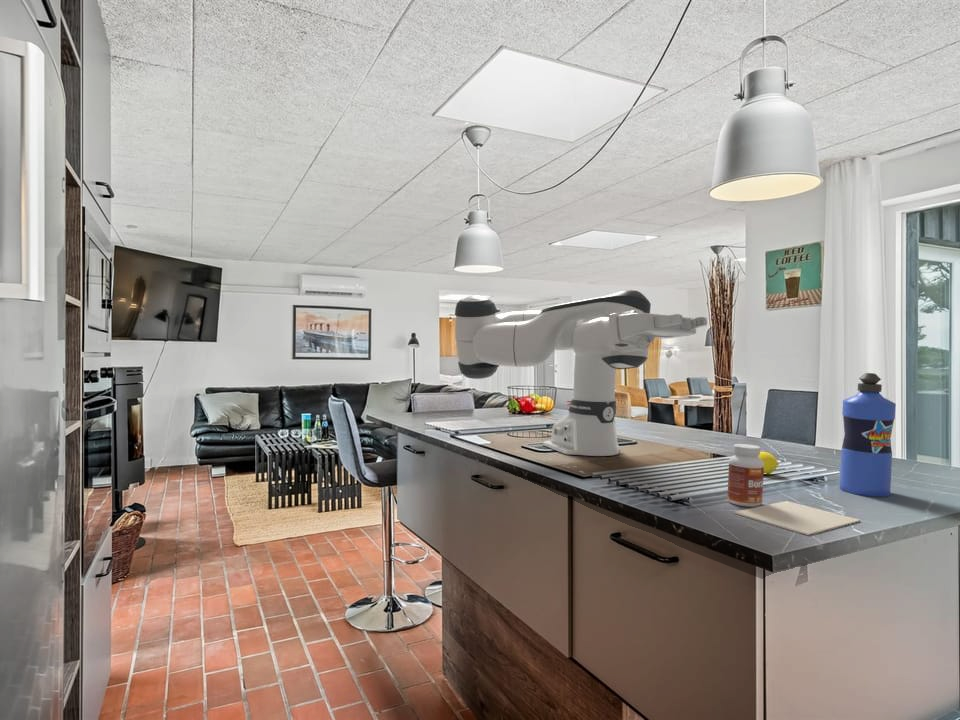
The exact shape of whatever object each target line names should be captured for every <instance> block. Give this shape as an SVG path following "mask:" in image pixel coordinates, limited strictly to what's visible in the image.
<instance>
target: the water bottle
mask: <svg viewBox="0 0 960 720" xmlns="http://www.w3.org/2000/svg"><path fill="white" fill-rule="evenodd" d="M858 380H860V381H861V382H859V383H857V391H858V392H857V393H856V394H855V395H852V396H850V397H848V398H845V399H843V400H842V410H841V411H842V412H841V414H842V416H843V417H842V419H843V428H844V429H843V431H844V435H843V440H842V445H841V453H840V468H839V469H840V472H839V473H840V474H839V489H840V490H841V491H843V492H845V493H849V494H853V495H857V496H861V497H862V496H864V497H871V498H887V497H890V496H891V487H892V486H891V485H892V469H893V468H892V466H893V465H892V464H893V452H892V442H891V437H892V433H893V426H894V422H895V420H896V406H897V405H896V403H895V402H894V401H892V400H890V399H888V398H886V397H884V396H883V395H881V393H882V387H883V385H882V383H881V384H879V382H880V381H881V380H882V378H881V377H879V375H878V374H876V373H873V372H871V373H870V372H865V373H863V375H861V376H860V377H859V378H858Z"/></svg>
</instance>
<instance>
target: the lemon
mask: <svg viewBox="0 0 960 720" xmlns="http://www.w3.org/2000/svg"><path fill="white" fill-rule="evenodd" d="M759 458H760V459H761V460H762V461H763V463H764V473H770V474H772V473H773V472H775V471H776V469H777V467H778V466H779V461H778V460H777V459H776V457H775V456H774V455H773V454H771V453H769V452H766V451H760V455H759Z"/></svg>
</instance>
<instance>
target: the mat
mask: <svg viewBox="0 0 960 720" xmlns="http://www.w3.org/2000/svg"><path fill="white" fill-rule="evenodd" d="M733 514H735V515H739V516H741V517H745V518H747V519H752V520H754V521H758V522H762V523H764V524H768V525H770V526H775V527H779V528H782V529H786V530H789V531H791V532H795V533H798V534H801V533H802V534H801V535H804V534H805V535H804V536H812V535H814V534H815V535H816V534H819V533H822V532H827V531H830V530H833V529H837V528H841V527H845V525H846V526H849V525H853V524H857V523H860V522H861V519H859V518H854V517H850V516H846V515H844V514H843V515H842V514H839V513H835V512H832V511H827V510H823V509H820V508H815V507H813V506H808V505H803V504H799V503H796V502H793V501H788V500H785V501H780V502H775V503H770V504H765V505H760V506H757V507H749V508H746V509H741V510H737V511H733ZM859 521H860V522H859ZM856 522H857V523H856ZM852 523H853V524H852ZM848 524H849V525H848ZM826 530H827V531H826ZM811 534H812V535H811Z"/></svg>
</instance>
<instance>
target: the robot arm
mask: <svg viewBox="0 0 960 720" xmlns="http://www.w3.org/2000/svg"><path fill="white" fill-rule="evenodd" d="M499 312H501V309H500V308H498V307H496V304H495V302H493V301H492V300H491V299H490V298H488V297H484V296H481V295H470V296H469V295H468V296H467V297H464V298H461V299H460V300H459V301H458V302H456V304H455V310H454V315H455V323H454V324H455V326H454V327H455V329H454V334H455V335H454V336H455V340H456V341H455V343H456V350H457V356H458V363H457V364H458V368H459V372H460V374H462V375H463V376H464V377H466V378H468V379H473V380H482V379H487V378H490V377H492V376H493V375H494V374H495V373H496V372H497V370H498V368H499V367H500V366H501V367H510V368H511V367H515V368H518V367H519V368H528V367H536V366H539V365H541V364H544V363H545V362H546V361H547V360H548V359H549V358H550V357H551V355H552V354H553V353H554V351H567V350H569V351H570V350H573V351H574V354H575V356H574V369H573V370H574V371H573V372H574V373H573V376H574V377H573V398H572V400H567V401H566V402H567V404H566V406H569V408H568V412H567V413H566V414H565V415H564V416H562V417H561V418H560V419H559V420H558V421H556V422H555V423H554V424H553V426H552V428H551V434H550V435H551V439H547V440H544V441H543V442H542V445H543V446H544V447H547V448H549V449H552V450H554V451H557V452H559V453H562V454H563V455H574V456H575V455H577V456H588V457H589V456H590V457H607V456H615V455H618V454H619V453H620V445H619V444H618V434H617V421H616V413H617V401H616V400H615V399H616V394H615V393H616V374H617V373H616V370H629V369H634V368H638V367H641V366H642V365H644V363H646V361H647V360H648V355H649V347H650V346H651V343H653V342H654V341H655V339H663V340H664V339H675V338H682V337H688V336H693V335H695V334H697V329H698V328H701V327H706V326H707V325H708V318H707V317H704V316H700V317H694V318H693V317H688V316H687V317H684V316H683V315H682V314H680V313H678V314H677V313H674V314H659V313H651V302H650V300H649V299H648V298H647V296H645V295H644V294H643V293H642V292H641V291H638V290H633V289H630V290H621V291H618V292H615V293H611V294H608V295H603V296H599V297H593V298H592V297H591V298H587V299H581V300H576V301H569V302H566V303H560V304H555V305H552V306H549V307H545V308H543V309H542V310H541V309H540V310H539V309H538V310H516V311H508V312H501V313H499Z"/></svg>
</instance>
